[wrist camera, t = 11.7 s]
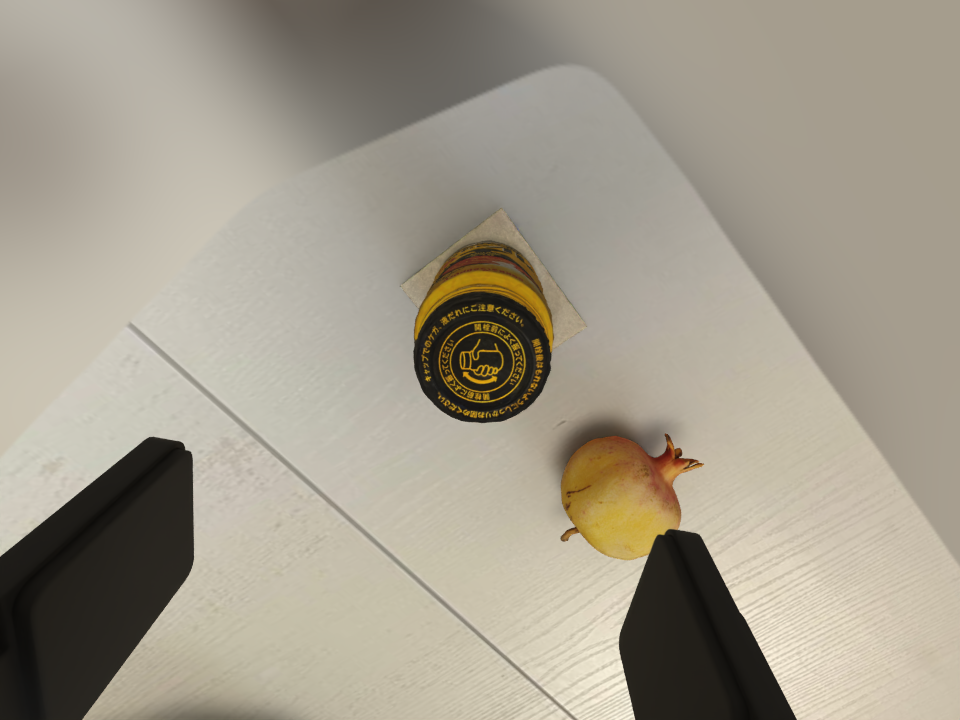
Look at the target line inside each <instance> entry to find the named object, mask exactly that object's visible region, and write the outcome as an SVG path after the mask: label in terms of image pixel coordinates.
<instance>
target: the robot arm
mask: <svg viewBox="0 0 960 720" xmlns="http://www.w3.org/2000/svg"><path fill="white" fill-rule="evenodd" d="M193 561H194V527H193V458H192V454H191V452H190V451H187V450H185V446H184V444H183V443H182V442H179V441H174V440H168V439H162V438H157V437H149V438H147V439H146V440H144V441H143V442H142V443H141V444H139V445H138V446H137V447H136V448H134V449H133V450H132V451H131V452H129V453H128V454H127V455H126V456H124V457H123V458H122V459H121V460H119V461H118V462H117V463H116V464H114V465H113V466H112V467H111V468H110V469H108V470H107V471H106V472H105V473H103V474H102V475H101V476H100V477H98V478H97V479H96V480H95V481H93V482H92V483H91V484H90V485H88V486H87V487H86V488H85V489H84V490H82V491H81V492H80V493H79V494H77V495H76V496H75V497H74V498H72V499H71V500H70V501H69V502H67V503H66V504H65V505H64V506H62V507H61V508H60V509H59V510H58V511H56V512H55V513H54V514H53V515H51V516H50V517H49V518H48V519H46V520H45V521H44V522H43V523H41V524H40V525H39V526H38V527H36V528H35V529H34V530H33V531H32V532H30V533H29V534H28V535H27V536H25V537H24V538H23V539H22V540H20V541H19V542H18V543H17V544H15V545H14V546H13V547H12V548H10V549H9V550H8V551H7V552H5V553H4V554H3V555H2V556H1V557H0V720H82V719H83V718H84V716H85V715H86V714H87V712H88V711H89V710H90V708H91V707H92V706H93V704H94V703H95V701H96V700H97V699H98V697H99V696H100V695H101V693H102V692H103V691H104V689H105V688H106V687H107V685H108V684H109V683H110V681H111V680H112V678H113V677H114V676H115V674H116V673H117V672H118V670H119V669H120V668H121V666H122V665H123V664H124V662H125V661H126V660H127V658H128V657H129V656H130V654H131V653H132V651H133V650H134V649H135V647H136V646H137V645H138V643H139V642H140V641H141V639H142V638H143V637H144V635H145V634H146V633H147V631H148V630H149V629H150V627H151V626H152V624H153V623H154V622H155V620H156V619H157V618H158V616H159V615H160V614H161V612H162V611H163V610H164V608H165V607H166V606H167V604H168V603H169V602H170V600H171V599H172V597H173V596H174V595H175V593H176V592H177V591H178V589H179V588H180V587H181V585H182V584H183V583H184V581H185V580H186V578H187V577H188V575H189V573H190V571H191V569H192V566H193ZM619 650H620V655H621V660H622V664H623V668H624V673H625V677H626V681H627V685H628V690H629V694H630V698H631V703H632V707H633V711H634V716H635V720H797V719H796V717H795V715H794V713H793V711H792V709H791V707H790V706H789V704H788V702H787V700H786V698H785V696H784V694H783V692H782V690H781V688H780V686H779V684H778V682H777V680H776V678H775V676H774V674H773V673H772V671H771V669H770V667H769V665H768V663H767V661H766V659H765V657H764V655H763V653H762V651H761V649H760V647H759V645H758V643H757V641H756V640H755V638H754V636H753V634H752V632H751V630H750V628H749V626H748V624H747V622H746V620H745V619H744V617H743V616H742V614H741V613H740V612H739V610H738V608H737V606H736V604H735V602H734V600H733V598H732V596H731V594H730V592H729V590H728V588H727V587H726V585H725V583H724V581H723V579H722V577H721V575H720V573H719V571H718V569H717V567H716V565H715V563H714V561H713V559H712V557H711V555H710V553H709V551H708V549H707V547H706V545H705V543H704V542H703V540H702V538H701V536H700V535H699V534H697V533H692V532H686V531H680V530H675V529H668V530H667V531H666V532H665V534H664V535H661V534H659V535H657V536H656V538H655V540H654V543H653V545H652V548H651V551H650V553H649V556H648V559H647V562H646V564H645V567H644V570H643V572H642V575H641V578H640V580H639V583H638V586H637V589H636V591H635V594H634V597H633V599H632V602H631V605H630V607H629V610H628V613H627V616H626V618H625V621H624V624H623V626H622V629H621V632H620V637H619Z"/></svg>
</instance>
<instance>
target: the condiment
mask: <svg viewBox="0 0 960 720" xmlns="http://www.w3.org/2000/svg"><path fill="white" fill-rule="evenodd" d="M400 287H401V288H402V289H403V291H404V292H405V293H406V294H407V295H408V297H409V298H410V299H411V300H412V301H413V303H414V304H415V305H416V306H417V307H418V309H419V312H418V315H417V317H416V320H415V328H414V340H415V341H414V343H415V347H414V351H413V352H414V368H415V372H416V375H417V378H418V381H419V383H420V385H421V388H422V390H423V392H424V394H425V395H426V396H427V397H428V398H429V399H430V400H431V401H432V402H433V403H434V404H435V405H436V406H437V407H438V408H439V409H440V410H441V411H442V412H444V413H446V414H447V415H449V416H450V417H452V418H455V419H458V420H460V421H465V422H478V423H487V422H501V421H505V420H507V419H509V418H511V417H513V416H516V415H517V414H519V413H520V412H522V411H523V410H525V409H527V408H528V407H529V406H530V405H531V404H532V403H533V402H534V401H535V400H536V398H537V397H538V396H539V395H540V393H541V392H542V390H543V388H544V385H545V383H546V381H547V378H548V376H549V373H550V371H551V365H550V361H551V355H552V354H551V353H552V350H553V349H555V348H556V347H558V346H559V345H561V344H562V343H563V342H565V341H566V340H568V339H569V338H571V337H573V336H574V335H576V334H577V333H579V332H580V331H582V330H583V329H585V328H586V327H587V326H586V324H585V323H584V322H583V320H582V319H581V317H580V316H579V315H578V313H577V312H576V310H575V309H574V308H573V306H572V305H571V304H570V302H569V301H568V299H567V298H566V297H565V295H564V294H563V292H562V291H561V290H560V288H559V287H558V285H557V284H556V283H555V281H554V280H553V278H552V277H551V276H550V274H549V273H548V271H547V270H546V268H545V267H544V266H543V264H542V263H541V261H540V260H539V259H538V257H537V256H536V254H535V253H534V252H533V250H532V249H531V248H530V246H529V245H528V243H527V242H526V241H525V239H524V238H523V236H522V235H521V234H520V232H519V231H518V229H517V228H516V227H515V225H514V224H513V222H512V221H511V220H510V218H509V217H508V215H507V214H506V213H505V211H504V210H503V209H502V208H500V209H499V210H498V211H497V212H495V213H494V214H493V215H491V216H490V217H489V218H487V219H486V220H485V221H483V222H482V223H481V224H480V225H478V226H477V227H476V228H474V229H473V230H472V231H471V232H469V233H468V234H467V235H465V236H464V237H463V238H461V239H460V240H459V241H457V242H456V243H455V244H454V245H452V246H451V247H450V248H448V249H447V250H446V251H445V252H443V253H442V254H441V255H439V256H438V257H437V258H436V259H434V260H433V261H432V262H430V263H429V264H428V265H427V266H425V267H424V268H423V269H422V270H420V271H419V272H418V273H416V274H415V275H414V276H412V277H411V278H410V279H409V280H407V281H406V282H405V283H403V284H402V285H401V286H400Z"/></svg>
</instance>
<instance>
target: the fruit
mask: <svg viewBox="0 0 960 720" xmlns="http://www.w3.org/2000/svg"><path fill="white" fill-rule="evenodd" d="M665 437H666V441H667V448H666V451H665V452H664V453H663V454H662V455H661V456H659V457H656V458H653V457H651V456H649V455H648V454H647V453H646V452H645V451H644V450H643V449H642V448H641V447H640V446H639V445H638V444H637V443H635V442H633V441H630V440H628V439H625V438H622V437H618V436H610V437H604V438H597V439H594V440H591V441H589V442H588V443H586V444H585V445H583V446H582V447H581V448H579V449H578V450H577V451H576V452H575V453H574V454H573V455H572V456H571V458H570V460H569V462H568V464H567V465H566V468H565V471H564V473H563V477H562V481H561V494H562V504H563V507H564V509H565V511H566V513H567V515H568V517H569V518H570V520H571V521H572V523H573V524H574V525H575V526H576V527H575V528H571V529H569V530H567V531H566V532H565V533H564V534H563V535H562V536H561V541H563V542H565V541H568V539H569V537H570V536H571V535H572V534H576V533H579V532H580V533H581V534H582V536H583V537H584V538H585V539H586V540H587V541H588V543H589V544H590V545H592V546H593V547H594V548H595V549H596V550H598V551H599V552H601V553H602V554H604V555H607V556H609V557H613V558H617V559H622V560H633V559H636V558H639V557H643V556H646V555H648V554H649V553H650V551H651V548H652V545H653V543H654V540H655V538H656V536H657V535H659V534H661V535H664V534H665V532H666V531H667V530H668V529H675V530H678V528H679V525H680V521H681V509H680V505H679V502H678V499H677V496H676V494H675V491H674V489H673V486H672V485H673V481H674V479H675V478H676V477H677V476H678V475H679V474H681V473H684V472H688V471H690V470H692V469H695V468H699V467H702V466H703V465H704V464H702V463H698V462H699V461H698V460H694V459H684V458H679V457H681V456H682V450H681V449H680V448H677V449H675V450H674V446H673V443H672V441H671V438H670V436H669V435H668V434H666V433H665ZM694 463H697V464H695V465H693V466H691V467H689V466H690V465H692V464H694Z"/></svg>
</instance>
